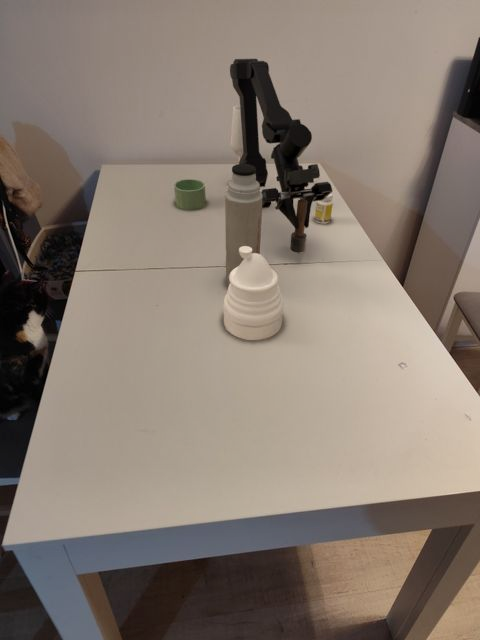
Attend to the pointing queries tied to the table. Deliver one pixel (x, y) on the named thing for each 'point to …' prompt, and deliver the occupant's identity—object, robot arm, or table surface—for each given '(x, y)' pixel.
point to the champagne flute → (236, 132)
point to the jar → (190, 194)
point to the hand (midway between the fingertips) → (302, 228)
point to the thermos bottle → (242, 215)
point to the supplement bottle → (324, 210)
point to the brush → (299, 236)
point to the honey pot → (253, 299)
